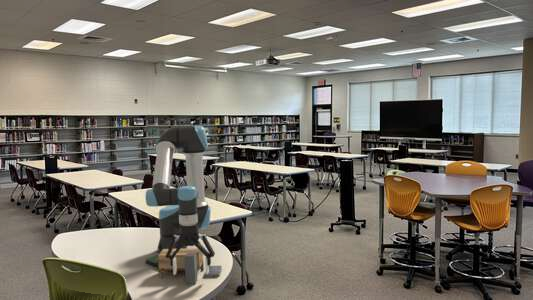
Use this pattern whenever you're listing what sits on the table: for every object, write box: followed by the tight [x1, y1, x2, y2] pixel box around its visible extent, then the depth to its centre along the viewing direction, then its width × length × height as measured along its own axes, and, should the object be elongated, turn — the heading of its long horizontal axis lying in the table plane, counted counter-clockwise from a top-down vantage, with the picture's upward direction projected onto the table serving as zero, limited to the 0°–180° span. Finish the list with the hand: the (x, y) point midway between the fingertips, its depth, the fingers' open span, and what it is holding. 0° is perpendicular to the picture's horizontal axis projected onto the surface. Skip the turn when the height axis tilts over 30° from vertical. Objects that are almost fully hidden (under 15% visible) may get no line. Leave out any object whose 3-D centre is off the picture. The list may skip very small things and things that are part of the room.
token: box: [205, 265, 223, 278], centre depth 172 cm, size 6×6×3 cm
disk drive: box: [145, 254, 164, 271], centre depth 186 cm, size 10×3×15 cm
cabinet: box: [157, 247, 205, 279], centre depth 173 cm, size 8×18×11 cm, turn 88°
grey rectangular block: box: [184, 253, 202, 285], centre depth 167 cm, size 13×4×12 cm, turn 178°
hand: (191, 273), depth 163 cm, fingers open, 13 cm apart
